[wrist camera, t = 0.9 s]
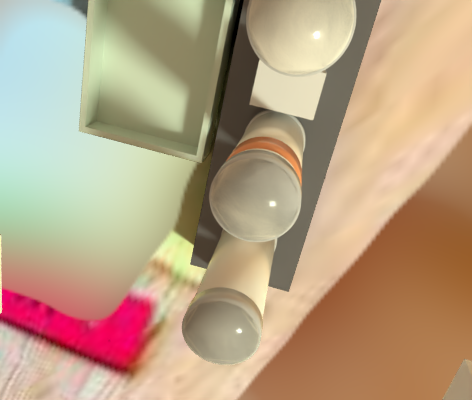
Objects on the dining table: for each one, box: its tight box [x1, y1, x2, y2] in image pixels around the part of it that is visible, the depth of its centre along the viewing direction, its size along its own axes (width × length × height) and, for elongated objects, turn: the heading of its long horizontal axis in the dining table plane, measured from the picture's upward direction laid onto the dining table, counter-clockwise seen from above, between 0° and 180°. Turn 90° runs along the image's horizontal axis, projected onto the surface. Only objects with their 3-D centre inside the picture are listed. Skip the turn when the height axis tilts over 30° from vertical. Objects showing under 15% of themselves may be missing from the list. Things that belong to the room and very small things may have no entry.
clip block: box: [190, 0, 381, 292], centre depth 34 cm, size 9×26×6 cm, turn 168°
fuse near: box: [246, 0, 356, 77], centre depth 25 cm, size 5×5×13 cm
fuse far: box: [182, 229, 278, 365], centre depth 31 cm, size 5×5×13 cm
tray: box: [79, 0, 240, 163], centre depth 35 cm, size 10×13×3 cm
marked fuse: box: [209, 109, 306, 242], centre depth 28 cm, size 5×5×13 cm
